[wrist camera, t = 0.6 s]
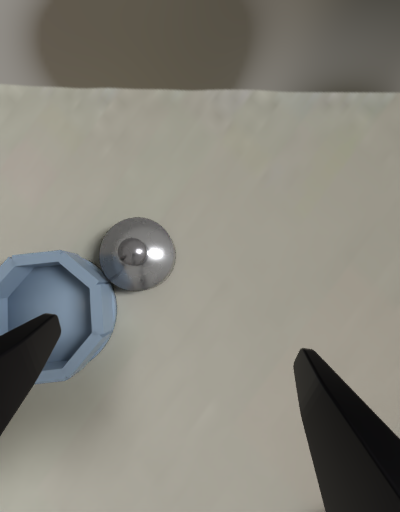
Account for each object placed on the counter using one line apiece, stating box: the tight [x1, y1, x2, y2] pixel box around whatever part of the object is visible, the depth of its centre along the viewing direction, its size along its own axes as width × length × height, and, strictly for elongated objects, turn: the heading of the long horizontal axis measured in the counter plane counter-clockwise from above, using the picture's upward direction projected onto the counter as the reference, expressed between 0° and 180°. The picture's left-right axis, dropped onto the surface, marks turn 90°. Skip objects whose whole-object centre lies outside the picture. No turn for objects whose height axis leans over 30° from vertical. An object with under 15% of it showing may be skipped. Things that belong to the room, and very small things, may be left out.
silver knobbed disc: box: [99, 217, 176, 291], centre depth 22 cm, size 7×7×4 cm
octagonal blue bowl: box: [0, 250, 117, 384], centre depth 21 cm, size 12×12×3 cm
